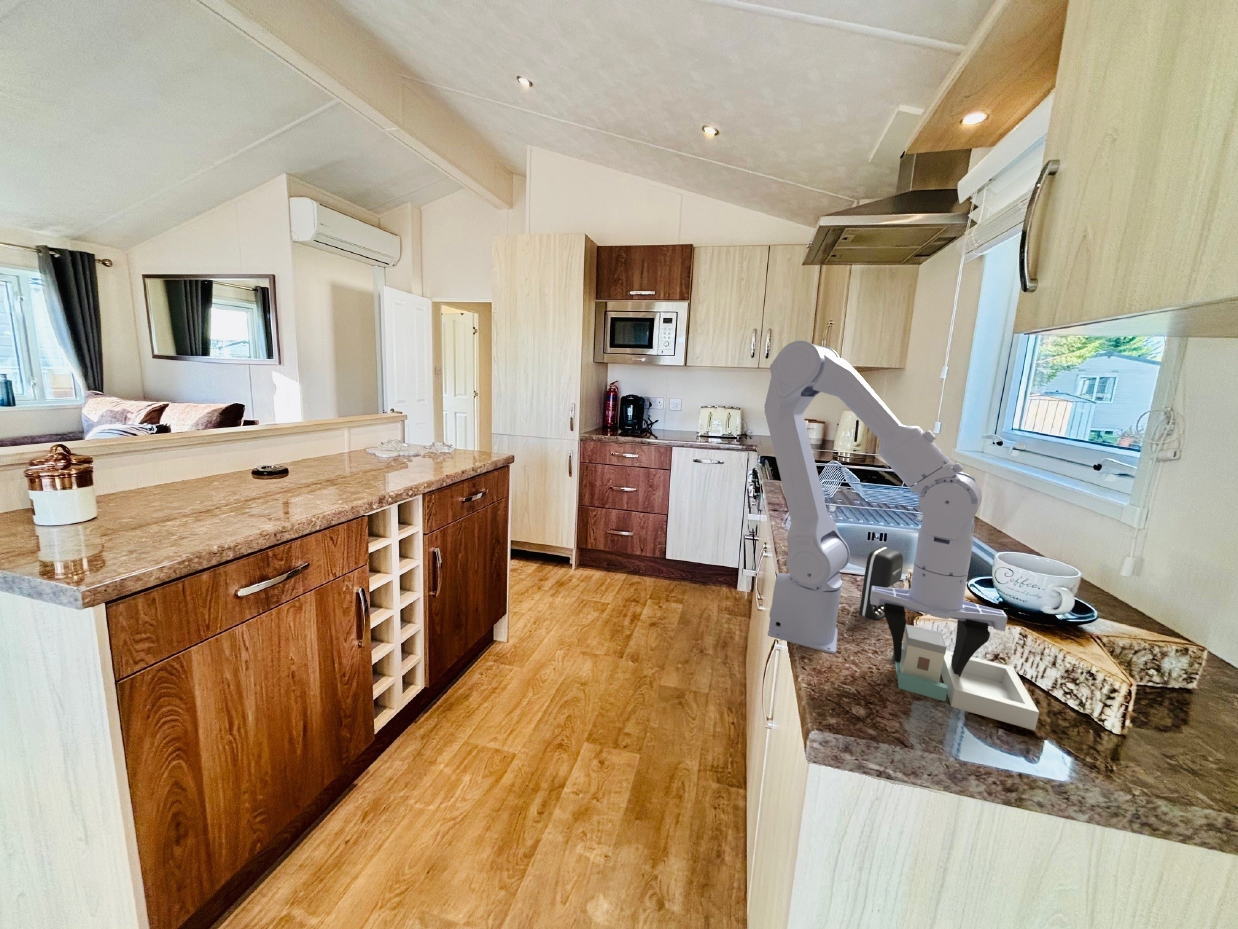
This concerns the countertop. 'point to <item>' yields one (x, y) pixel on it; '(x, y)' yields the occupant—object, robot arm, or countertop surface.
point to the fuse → (922, 653)
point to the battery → (879, 578)
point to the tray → (990, 691)
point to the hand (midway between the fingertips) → (925, 665)
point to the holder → (921, 685)
